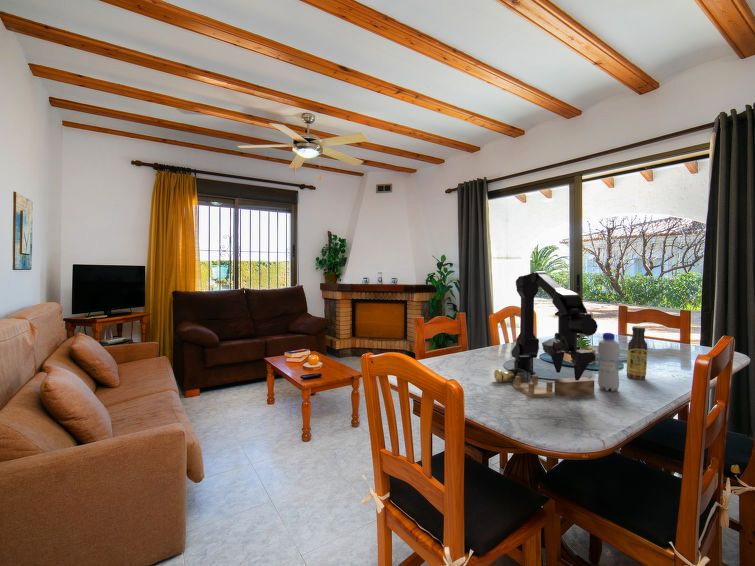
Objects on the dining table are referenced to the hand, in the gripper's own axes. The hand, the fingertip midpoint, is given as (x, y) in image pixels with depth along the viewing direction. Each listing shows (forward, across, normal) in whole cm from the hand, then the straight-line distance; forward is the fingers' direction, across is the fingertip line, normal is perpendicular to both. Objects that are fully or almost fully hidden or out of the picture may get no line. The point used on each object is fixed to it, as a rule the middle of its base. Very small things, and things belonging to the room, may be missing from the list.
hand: (567, 376), depth 125 cm
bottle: (+6, -1, +17) cm, 18 cm away
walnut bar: (+6, 0, +2) cm, 7 cm away
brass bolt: (+6, -17, -13) cm, 22 cm away
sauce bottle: (+6, -10, +38) cm, 40 cm away
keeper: (+6, -17, -8) cm, 19 cm away
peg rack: (+6, -5, -10) cm, 12 cm away
